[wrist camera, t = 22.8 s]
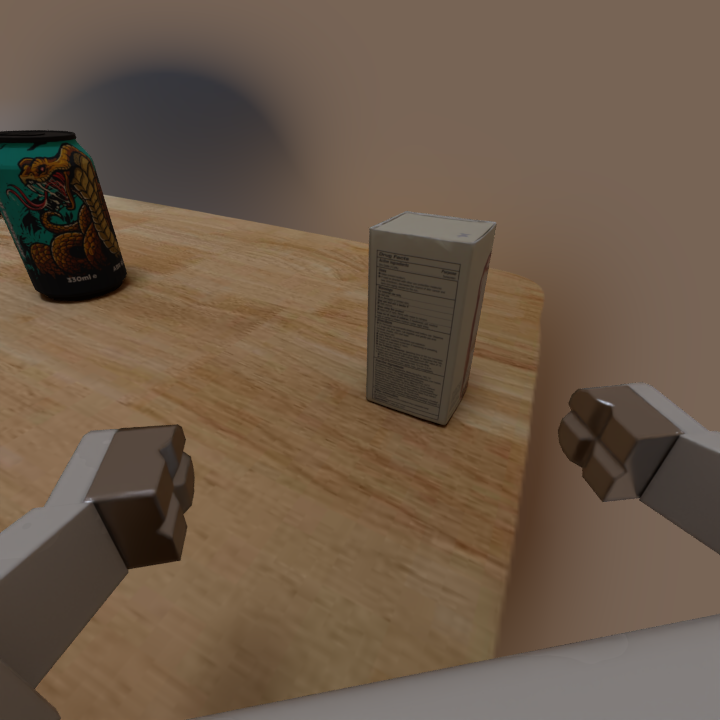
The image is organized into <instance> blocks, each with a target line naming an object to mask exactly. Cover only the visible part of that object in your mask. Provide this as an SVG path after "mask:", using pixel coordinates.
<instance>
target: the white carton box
mask: <svg viewBox="0 0 720 720" xmlns="http://www.w3.org/2000/svg"><path fill="white" fill-rule="evenodd" d="M495 229H496V222H490V221H480V220H471V219H462V218H456V217H449V216H439V215H432V214H424V213H415V212H409V211H406V212H404V213H402V214H399V215H397V216H395V217H392V218H390V219H388V220H386V221H383V222H381V223H379V224H377V225H375V226H373V227H370V229H369V230H370V231H369V233H370V234H369V275H368V333H367V384H366V398H367V399H368V400H370V401H373V402H376V403H378V404H381V405H384V406H386V407H389V408H392V409H395V410H398V411H401V412H404V413H408V414H410V415H413V416H416V417H419V418H422V419H425V420H429V421H432V422H435V423H438V424H441V425H446V424H447V422H448V420H449V419H450V417H451V416H452V414H453V412H454V411H455V409H456V407H457V406H458V404H459V402H460V400H461V399H462V397H463V395H464V393H465V391H466V388H467V385H468V380H469V374H470V369H471V363H472V358H473V352H474V347H475V341H476V335H477V330H478V324H479V319H480V313H481V308H482V302H483V296H484V291H485V285H486V280H487V275H488V269H489V263H490V257H491V252H492V246H493V241H494V235H495Z"/></svg>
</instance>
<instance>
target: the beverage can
mask: <svg viewBox="0 0 720 720" xmlns="http://www.w3.org/2000/svg"><path fill="white" fill-rule="evenodd" d="M75 139H76V136H75V133H73V132H68V131H45V130H44V131H43V130H37V131H36V130H33V131H32V130H31V131H4V132H0V211H1V214H2V216H3V218H4V220H5V223H6V225H7V227H8V229H9V232H10V234H11V236H12V238H13V241H14V243H15V245H16V247H17V250H18V252H19V254H20V256H21V259H22V261H23V263H24V265H25V268H26V270H27V272H28V274H29V277H30V279H31V281H32V283H33V286H34V288H35V290H37V291H38V292H40V293H42V294H45V295H46V296H48V297H49V298H52V299H56V300H67V301H71V300H82V299H89V298H94V297H97V296H101V295H104V294H107V293H109V292H111V291H113V290H115V289H117V288H118V287H119V286H120V285H121V284H122V282H123V280H124V278H125V277H126V275H127V272H126V268H125V265H124V262H123V258H122V255H121V252H120V249H119V245H118V242H117V239H116V235H115V232H114V229H113V225H112V222H111V219H110V215H109V212H108V209H107V206H106V202H105V199H104V196H103V192H102V189H101V186H100V183H99V180H98V176H97V173H96V169H95V166H94V163H93V160H92V158H91V156H90V155H89V154H88V153H87V152H86V151H85V150H84V149H83V148H82V147H81V146H80V145H79V144H78V143H77V141H76V140H75Z"/></svg>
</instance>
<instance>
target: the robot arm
mask: <svg viewBox="0 0 720 720" xmlns="http://www.w3.org/2000/svg"><path fill="white" fill-rule="evenodd" d="M569 407H570V409H571V411H570V413H568V414H567V415H566V416H565V417H564V418H563V419H562V420H561V423H560V426H559V429H558V437H559V443H560V446H561V448H562V451H563V452H564V454H565V455H566V456H567V458H568V459H569V460H570V461H571V462H573V463H575V464H577V465H578V466H580V467H582V477H583V478H584V479H585V481H586V482H587V483H588V484H589V486H590V487H591V488H592V489H593V491H594V492H595V493H596V494H597V496H598V497H599V498H600V500H601V501H602V502H607V501H616V500H626V499H634V498H640V499H639V500H640V501H641V502H643V503H644V504H646V505H647V506H649V507H650V508H652V509H653V510H655V511H656V512H658V513H659V514H660V515H662V516H664V517H665V518H666V519H668V520H669V521H671V522H672V523H674V524H675V525H677V526H678V527H680V528H681V529H683V530H684V531H685V532H687V533H688V534H690V535H692V536H693V537H694V538H696V539H697V540H699V541H700V542H702V543H703V544H705V545H706V546H708V547H709V548H711V549H712V550H714V551H715V552H717V553H718V554H719V555H720V433H719V432H717V431H712V432H710V431H708V430H707V429H706V428H705V427H703V426H702V425H701V424H699V423H698V422H697V421H696V420H694V419H693V418H692V417H690V416H689V415H688V414H687V413H686V412H684V411H683V410H682V409H680V408H679V407H678V406H677V405H675V404H674V403H673V402H672V401H670V400H669V399H668V398H666V397H665V396H664V395H663V394H661V393H660V392H659V391H658V390H656V389H655V388H654V387H653V386H651V385H649V384H646V383H643V382H639V383H631V384H621V385H615V386H604V387H594V388H584V389H578V390H577V391H575V393H573V394H572V396H571V398H570V401H569ZM185 441H186V439H185V436H184V432H183V429H182V427H181V426H179V425H178V424H177V425H162V426H147V427H132V428H121V429H110V430H95V431H90V432H88V433H87V434H85V435H84V436H83V437H82V439H81V441H80V443H79V445H78V446H77V448H76V450H75V452H74V453H73V455H72V457H71V459H70V461H69V462H68V464H67V466H66V468H65V470H64V471H63V473H62V475H61V477H60V479H59V480H58V482H57V484H56V486H55V488H54V489H53V491H52V493H51V495H50V497H49V498H48V500H47V502H46V504H45V506H44V507H41V508H34V509H32V510H31V511H29V512H28V513H27V514H25V515H24V516H22V517H21V518H20V519H18V520H17V521H16V522H14V523H13V524H12V525H10V526H9V527H8V528H6V529H5V530H4V531H2V532H1V533H0V720H60V719H61V717H60V715H59V713H58V712H57V710H56V708H55V707H54V706H52V705H51V704H50V703H49V702H48V701H47V700H46V699H45V698H44V697H43V696H41V695H40V694H39V693H38V692H37V691H36V690H35V688H36V686H37V685H38V684H39V683H40V681H41V680H42V679H43V678H44V676H45V675H46V674H47V673H48V672H49V670H50V669H51V668H52V667H53V665H54V664H55V663H56V662H57V660H58V659H59V658H60V657H61V655H62V654H63V653H64V652H65V650H66V649H67V648H68V647H69V645H70V644H71V643H72V642H73V641H74V639H75V638H76V637H77V636H78V634H79V633H80V632H81V631H82V629H83V628H84V627H85V626H86V624H87V623H88V622H89V621H90V619H91V618H92V617H93V616H94V615H95V613H96V612H97V611H98V610H99V608H100V607H101V606H102V605H103V603H104V602H105V601H106V600H107V598H108V597H109V596H110V595H111V593H112V592H113V591H114V590H115V588H116V587H117V586H118V585H119V584H120V582H121V581H122V580H123V579H124V577H125V576H126V575H127V574H128V569H133V568H139V567H145V566H151V565H157V564H163V563H169V562H175V561H180V560H181V555H182V550H183V545H184V541H185V536H186V531H187V524H186V521H185V518H184V515H183V514H184V513H185V512H186V511H187V510H188V509H189V508H190V507H191V506H192V501H193V495H194V478H195V477H194V469H193V463H192V460H191V456H189V455H188V454H186V453H185V452H183V449H184V445H185ZM186 720H720V614H717V615H712V616H707V617H702V618H697V619H692V620H687V621H682V622H677V623H672V624H667V625H662V626H656V627H652V628H646V629H641V630H636V631H631V632H626V633H621V634H616V635H611V636H606V637H601V638H596V639H591V640H586V641H581V642H576V643H570V644H565V645H561V646H556V647H550V648H546V649H540V650H535V651H530V652H525V653H520V654H515V655H510V656H505V657H500V658H494V659H489V660H484V661H479V662H474V663H469V664H464V665H459V666H454V667H449V668H444V669H439V670H434V671H429V672H424V673H419V674H414V675H408V676H403V677H398V678H393V679H388V680H383V681H378V682H373V683H368V684H363V685H358V686H353V687H348V688H343V689H338V690H333V691H328V692H323V693H318V694H313V695H308V696H302V697H297V698H292V699H287V700H282V701H277V702H272V703H267V704H262V705H257V706H252V707H247V708H242V709H237V710H232V711H227V712H222V713H217V714H212V715H207V716H202V717H196V718H191V719H186Z"/></svg>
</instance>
